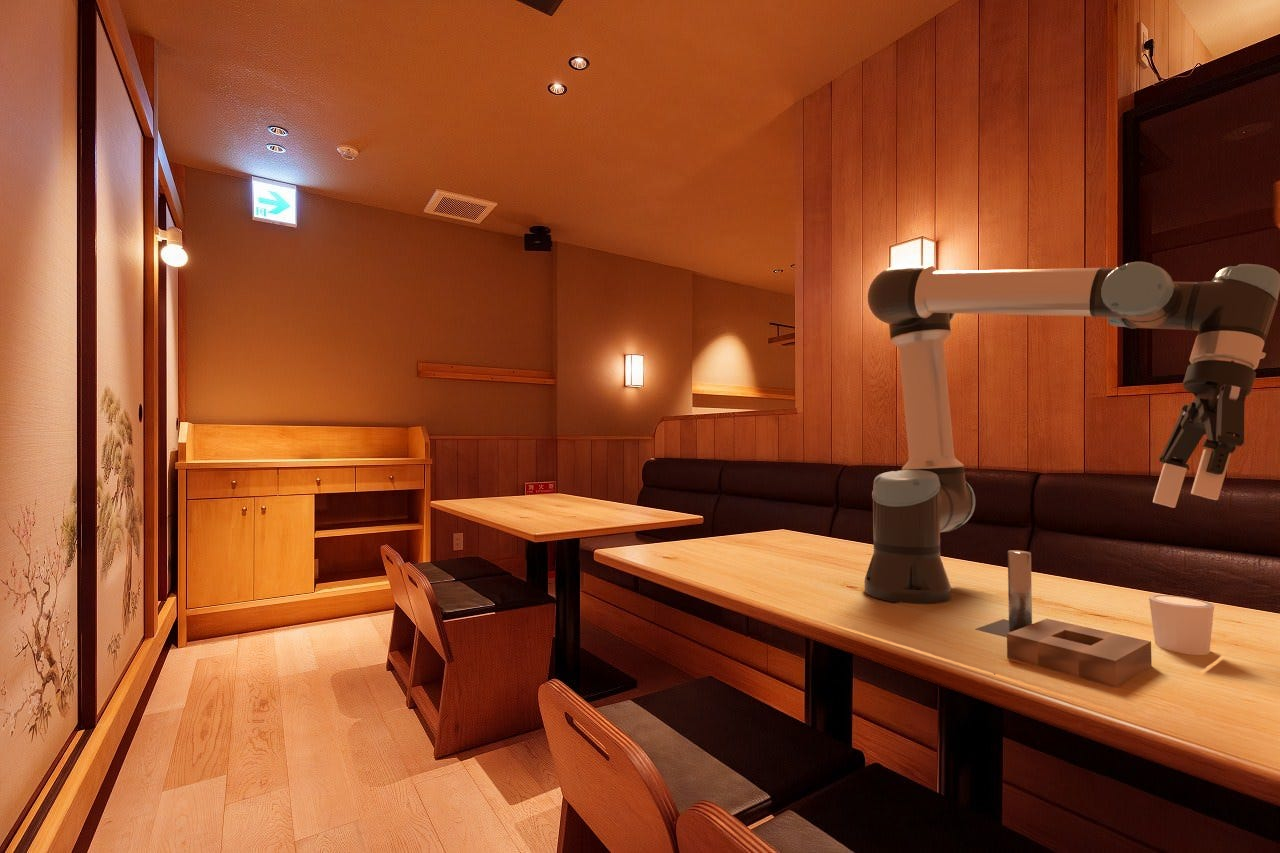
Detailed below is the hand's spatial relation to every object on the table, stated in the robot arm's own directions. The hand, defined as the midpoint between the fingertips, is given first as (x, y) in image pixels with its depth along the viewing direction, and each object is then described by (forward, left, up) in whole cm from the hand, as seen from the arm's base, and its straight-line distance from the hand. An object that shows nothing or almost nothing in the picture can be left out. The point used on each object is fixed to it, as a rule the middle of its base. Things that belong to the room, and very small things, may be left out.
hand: (1182, 501), depth 88 cm
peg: (-15, -17, -20) cm, 30 cm away
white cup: (+1, -6, -21) cm, 21 cm away
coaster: (-15, -17, -20) cm, 30 cm away
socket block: (-5, -24, -20) cm, 32 cm away
